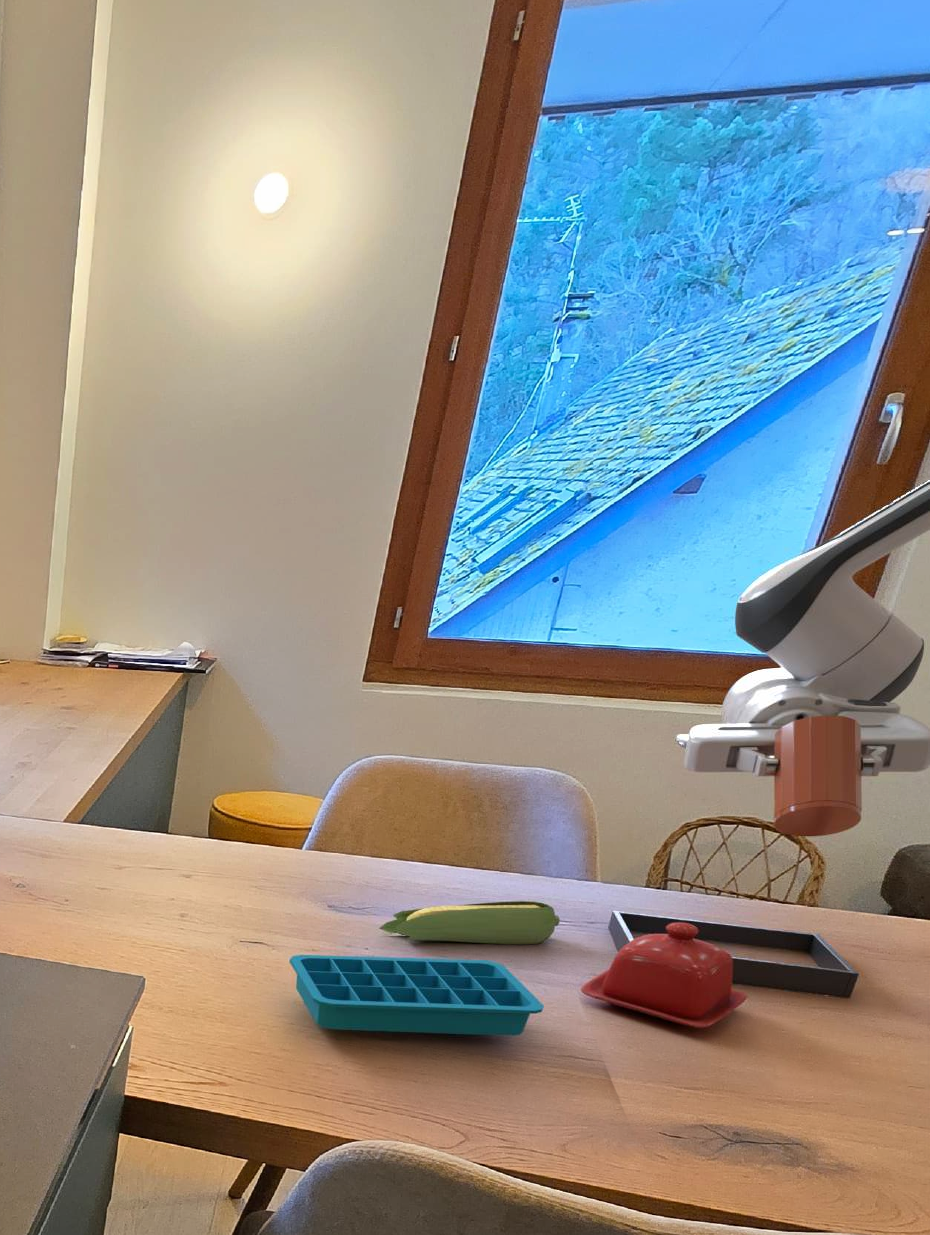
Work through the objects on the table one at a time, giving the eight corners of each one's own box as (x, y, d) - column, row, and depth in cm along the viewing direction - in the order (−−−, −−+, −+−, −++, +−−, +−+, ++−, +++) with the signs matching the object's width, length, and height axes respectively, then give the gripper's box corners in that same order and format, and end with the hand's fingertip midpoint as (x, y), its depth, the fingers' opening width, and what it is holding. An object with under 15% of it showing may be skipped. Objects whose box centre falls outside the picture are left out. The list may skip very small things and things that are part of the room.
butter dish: (570, 1000, 117) (593, 921, 114) (620, 971, 123) (643, 894, 120) (702, 1041, 109) (731, 957, 105) (749, 1008, 115) (778, 926, 111)
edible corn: (563, 950, 131) (573, 912, 129) (380, 951, 132) (388, 913, 130) (538, 933, 136) (548, 896, 134) (362, 934, 136) (369, 897, 134)
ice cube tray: (541, 1040, 108) (549, 1010, 106) (311, 1032, 110) (316, 1003, 109) (491, 987, 118) (498, 960, 117) (282, 981, 120) (287, 954, 119)
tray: (809, 960, 129) (819, 934, 127) (849, 1001, 118) (859, 973, 116) (605, 935, 136) (612, 910, 135) (624, 972, 125) (632, 945, 124)
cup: (837, 839, 119) (837, 751, 121) (876, 809, 112) (875, 717, 115) (760, 833, 120) (761, 746, 123) (795, 803, 114) (795, 713, 117)
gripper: (678, 707, 131) (697, 738, 121) (917, 701, 122) (961, 735, 111) (667, 762, 134) (686, 798, 123) (900, 761, 125) (942, 800, 114)
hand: (819, 768), depth 117 cm, fingers closed on cup, 7 cm apart
